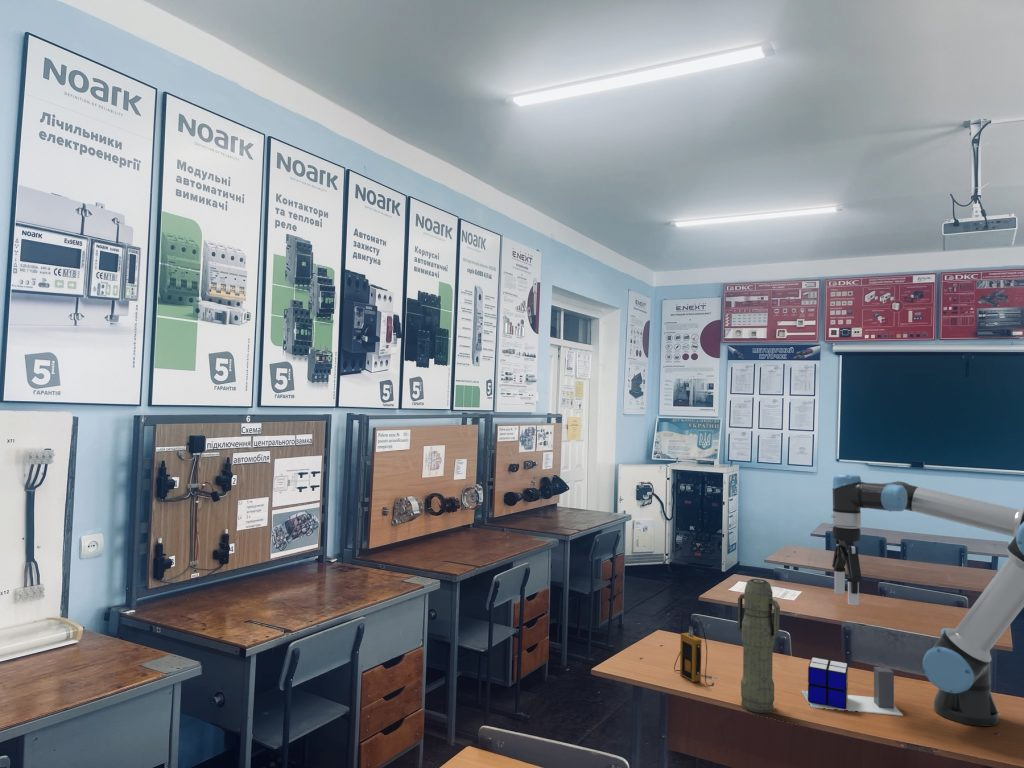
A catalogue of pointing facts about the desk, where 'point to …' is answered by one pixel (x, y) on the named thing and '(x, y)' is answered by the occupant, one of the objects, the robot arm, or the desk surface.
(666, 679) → the desk surface
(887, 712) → the white flat base
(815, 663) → the puzzle cube
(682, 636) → the multimeter
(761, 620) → the thermos
